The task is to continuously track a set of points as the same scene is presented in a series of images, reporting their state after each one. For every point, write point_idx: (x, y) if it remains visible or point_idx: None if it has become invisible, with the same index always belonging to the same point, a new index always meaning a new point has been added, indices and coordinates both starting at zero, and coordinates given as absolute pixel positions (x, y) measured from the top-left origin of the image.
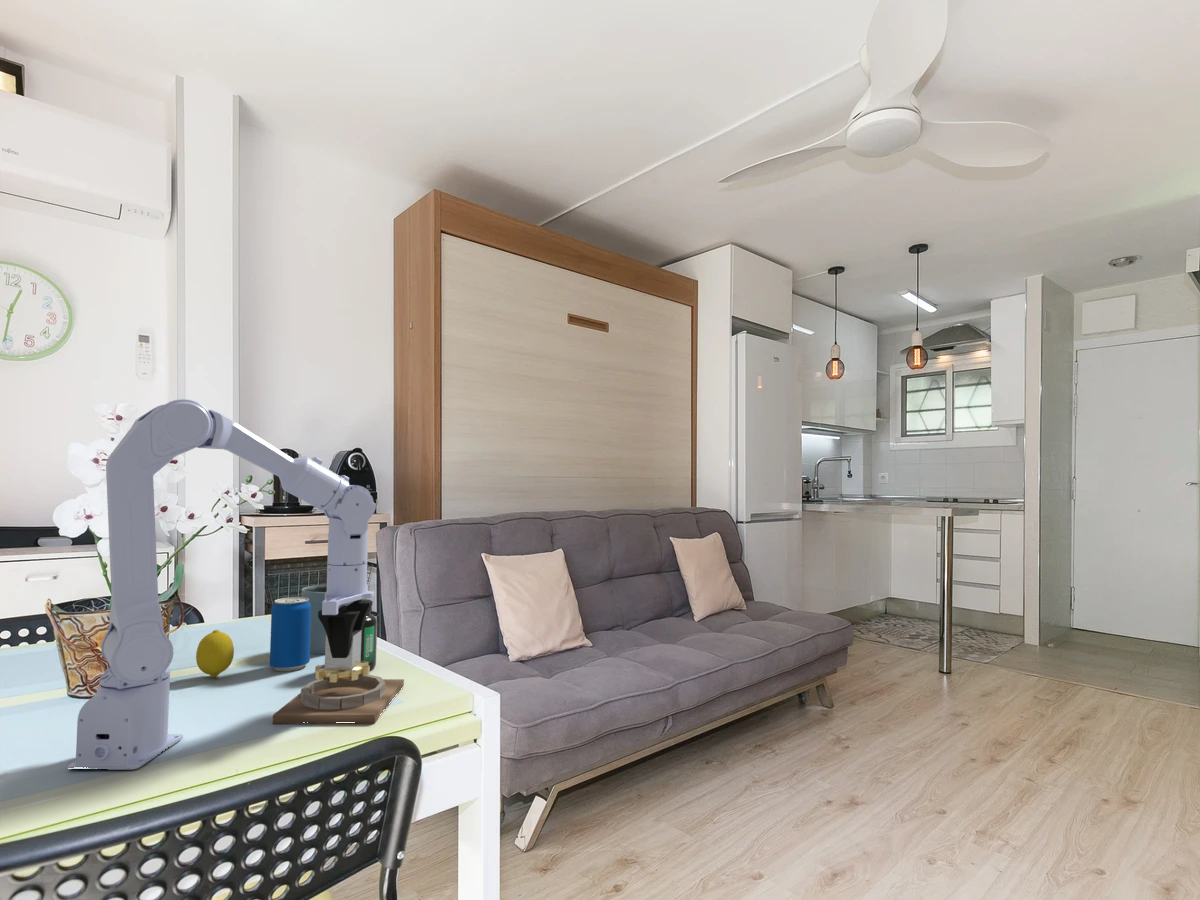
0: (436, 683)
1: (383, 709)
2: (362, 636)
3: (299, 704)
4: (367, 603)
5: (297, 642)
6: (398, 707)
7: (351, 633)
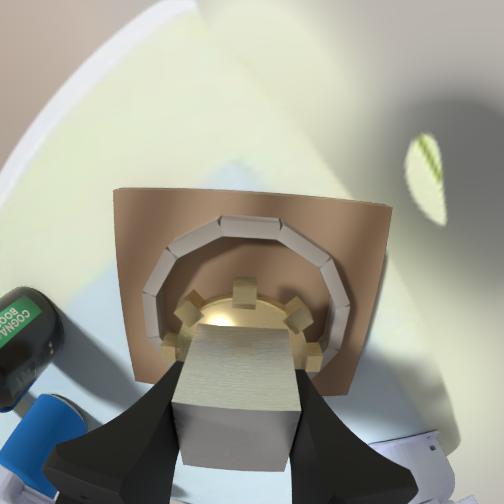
0: (100, 111)
1: (318, 197)
2: (7, 348)
3: None
4: (123, 499)
5: (55, 436)
6: (281, 165)
7: (318, 424)
